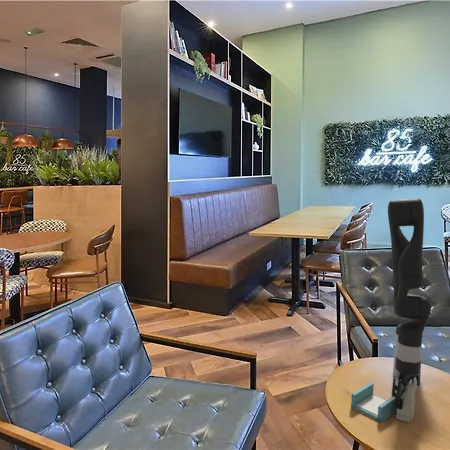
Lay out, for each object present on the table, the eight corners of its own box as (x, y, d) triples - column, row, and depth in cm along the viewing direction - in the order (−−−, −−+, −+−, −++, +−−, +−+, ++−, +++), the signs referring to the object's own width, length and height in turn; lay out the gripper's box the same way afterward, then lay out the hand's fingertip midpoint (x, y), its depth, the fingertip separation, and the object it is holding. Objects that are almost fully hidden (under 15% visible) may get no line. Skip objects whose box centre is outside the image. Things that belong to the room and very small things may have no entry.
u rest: (369, 395, 150) (370, 382, 149) (399, 408, 142) (400, 395, 141) (350, 407, 142) (351, 393, 141) (381, 422, 134) (381, 407, 133)
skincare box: (410, 423, 133) (412, 388, 132) (395, 419, 136) (398, 383, 134) (414, 414, 138) (416, 380, 137) (400, 410, 141) (402, 376, 139)
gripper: (407, 347, 142) (404, 392, 144) (386, 358, 133) (383, 406, 135) (430, 354, 136) (426, 401, 138) (409, 366, 127) (405, 416, 129)
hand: (405, 403), depth 136 cm, fingers open, 8 cm apart
